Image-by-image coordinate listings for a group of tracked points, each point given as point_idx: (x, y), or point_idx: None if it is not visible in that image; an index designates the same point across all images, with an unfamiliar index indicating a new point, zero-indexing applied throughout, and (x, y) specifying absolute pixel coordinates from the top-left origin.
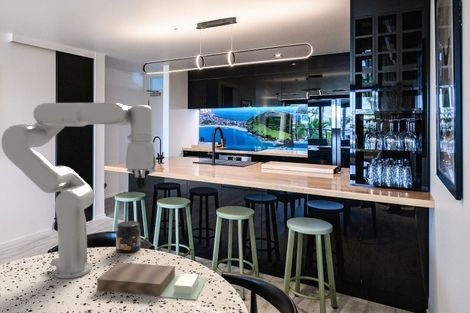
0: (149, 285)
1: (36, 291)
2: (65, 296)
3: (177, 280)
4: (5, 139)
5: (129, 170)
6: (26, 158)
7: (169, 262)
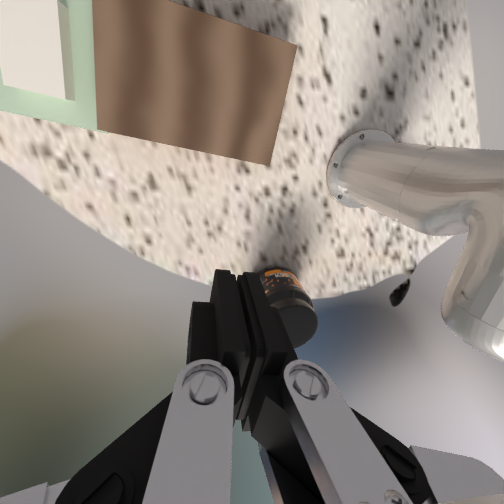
0: None
1: (415, 64)
2: (352, 26)
3: (59, 38)
4: None
5: (472, 485)
6: None
7: (154, 222)
